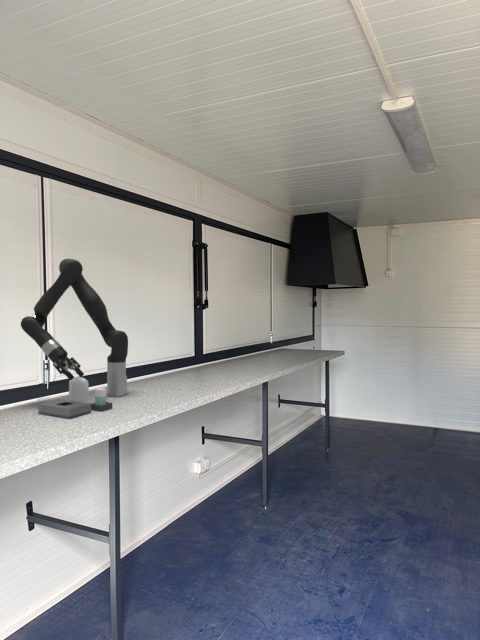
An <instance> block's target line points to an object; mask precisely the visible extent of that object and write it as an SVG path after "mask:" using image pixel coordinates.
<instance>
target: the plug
mask: <svg viewBox="0 0 480 640" xmlns="http://www.w3.org/2000/svg"><path fill="white" fill-rule="evenodd" d="M107 398H108V396H107V388H102V387H99V388H96V389H94V403H95V405H104V404H107V402H108V401H107Z"/></svg>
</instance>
